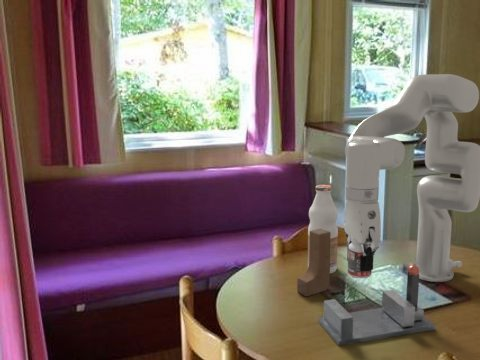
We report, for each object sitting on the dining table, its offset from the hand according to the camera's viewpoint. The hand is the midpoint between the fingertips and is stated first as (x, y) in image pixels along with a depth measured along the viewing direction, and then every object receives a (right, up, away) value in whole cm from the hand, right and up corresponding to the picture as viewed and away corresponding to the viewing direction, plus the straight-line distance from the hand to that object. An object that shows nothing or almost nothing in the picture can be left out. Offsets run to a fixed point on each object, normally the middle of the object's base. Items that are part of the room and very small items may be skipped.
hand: (359, 264), depth 119 cm
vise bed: (+5, -16, +5) cm, 18 cm away
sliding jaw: (+13, -14, +6) cm, 20 cm away
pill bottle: (0, -3, +1) cm, 3 cm away
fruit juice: (-2, -9, +41) cm, 42 cm away
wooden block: (-7, -12, +25) cm, 29 cm away
